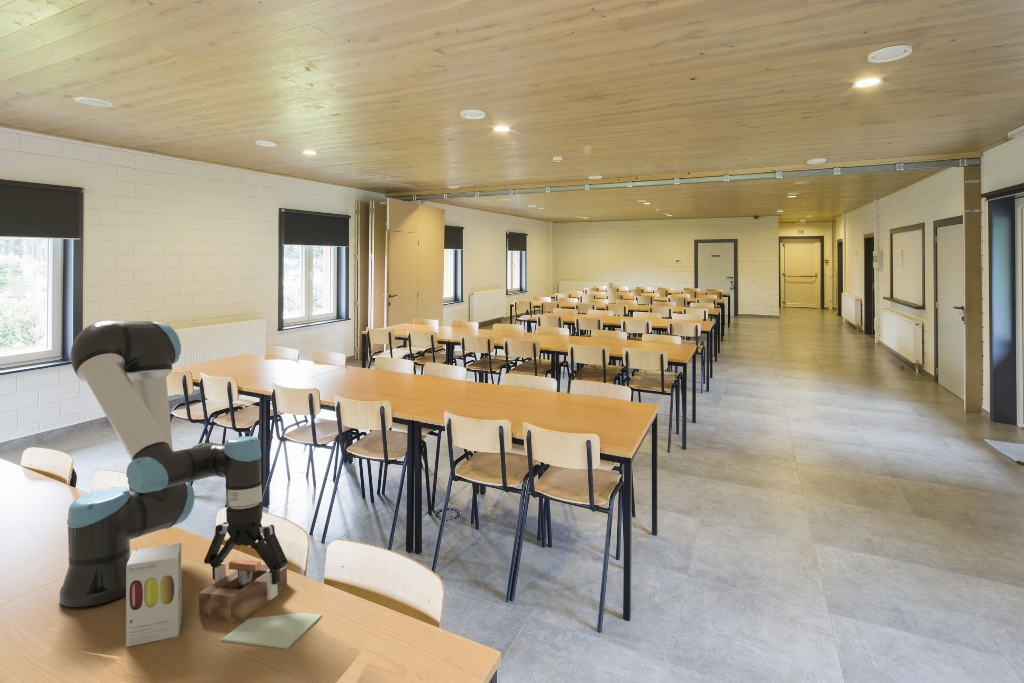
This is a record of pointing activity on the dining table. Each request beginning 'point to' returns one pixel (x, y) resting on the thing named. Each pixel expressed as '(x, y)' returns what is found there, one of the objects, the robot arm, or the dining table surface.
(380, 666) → the dining table surface
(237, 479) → the robot arm
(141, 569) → the supplement box
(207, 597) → the brown hollow elongated block
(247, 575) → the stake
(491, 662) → the dining table surface
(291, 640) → the mat
